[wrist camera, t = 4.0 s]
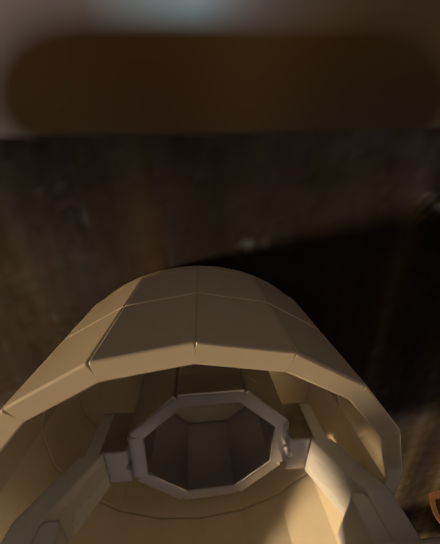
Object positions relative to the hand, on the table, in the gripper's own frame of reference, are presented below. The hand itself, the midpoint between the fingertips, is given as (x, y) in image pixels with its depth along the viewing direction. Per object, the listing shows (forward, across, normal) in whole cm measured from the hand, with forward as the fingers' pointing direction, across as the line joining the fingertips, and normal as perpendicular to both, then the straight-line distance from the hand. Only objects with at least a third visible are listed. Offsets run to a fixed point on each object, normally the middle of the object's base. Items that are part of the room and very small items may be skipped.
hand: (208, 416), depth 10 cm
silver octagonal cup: (+2, 0, 0) cm, 2 cm away
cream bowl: (+2, 0, 0) cm, 2 cm away
